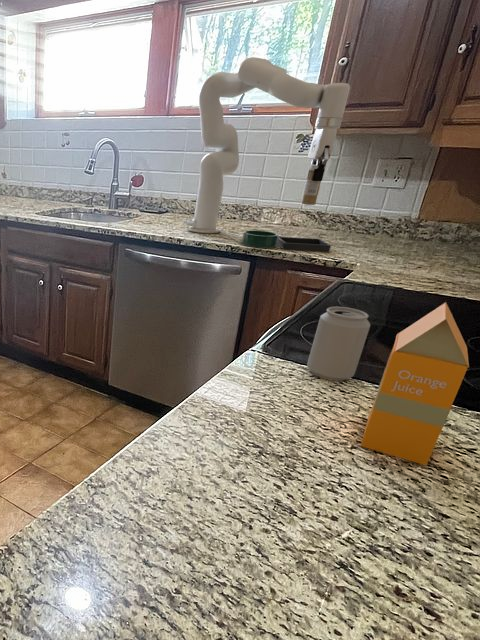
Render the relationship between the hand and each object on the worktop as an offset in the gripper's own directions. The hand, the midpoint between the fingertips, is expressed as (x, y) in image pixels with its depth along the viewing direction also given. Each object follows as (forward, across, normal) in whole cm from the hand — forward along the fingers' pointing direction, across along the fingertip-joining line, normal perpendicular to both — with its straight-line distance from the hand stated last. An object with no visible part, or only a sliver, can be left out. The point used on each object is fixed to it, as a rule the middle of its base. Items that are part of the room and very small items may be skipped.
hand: (314, 179), depth 186 cm
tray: (+24, 0, +1) cm, 24 cm away
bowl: (+24, 0, -14) cm, 28 cm away
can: (+24, +119, -24) cm, 124 cm away
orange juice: (+24, +142, -23) cm, 146 cm away
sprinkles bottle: (+9, 0, 0) cm, 9 cm away
